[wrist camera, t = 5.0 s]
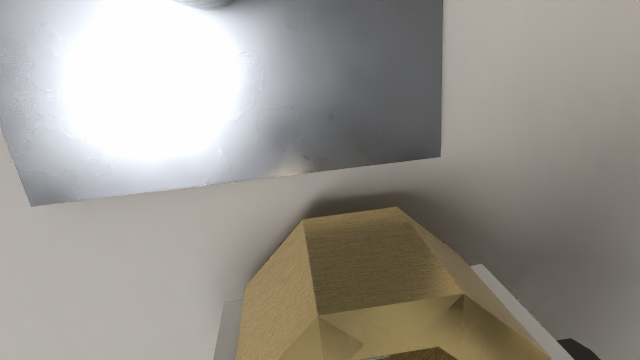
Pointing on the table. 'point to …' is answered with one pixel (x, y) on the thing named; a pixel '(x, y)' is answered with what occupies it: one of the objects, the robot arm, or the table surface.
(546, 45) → the table surface
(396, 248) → the ring
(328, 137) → the metal peg stand
